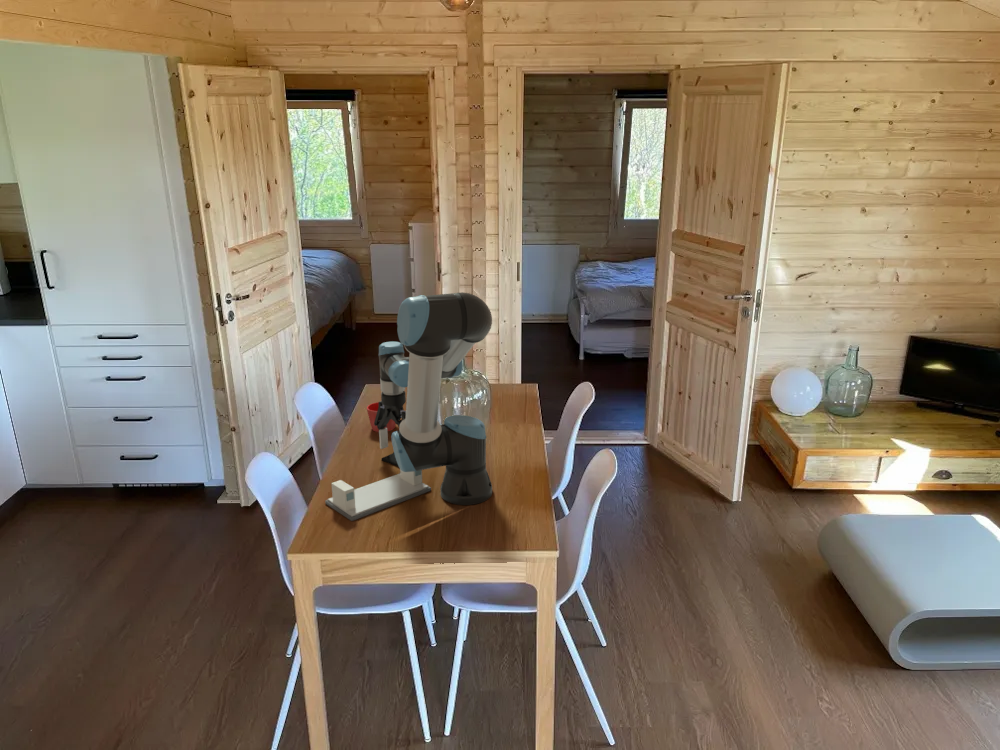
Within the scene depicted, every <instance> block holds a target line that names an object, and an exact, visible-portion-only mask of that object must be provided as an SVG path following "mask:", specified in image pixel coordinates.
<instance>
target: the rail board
mask: <svg viewBox="0 0 1000 750" xmlns="http://www.w3.org/2000/svg"><path fill="white" fill-rule="evenodd" d="M431 491H432V487H430V486H429V485H428V484H426V483H424V482H423V470H419V471H413V472H403V471H402V470H401V469H400V468H399V473H398V474H395V475H394V474H393V475H392V476H389V477H386V478H383V479H380V480H378V481H375V482H372V483H369V484H366V485H363V486H361V487H358V488H355V487H353V486H352V485H351V484H348V483H346V482H345V481H344V480H342V479H339V480H337V481H334V482H331V493H332V494H331V495H332V497H329V498H327V499H325V501H324V502H325V503H324V504H326V506H328V507H330V508H331V509H332V510H334V511H336V512H337V513H339V514H340V515H342V516H343V517H345V518H346V519H348V520H349V521H351V522H353V521H357V520H358V519H361V518H364V517H366V516H369V515H372V514H374V513H376V512H379V511H382V510H384V509H388V508H389V507H392V506H395V505H397V504H400V503H402V502H405V501H408V500H411V499H413V498H415V497H418V496H421V495H424V494H426V493H428V492H431Z"/></svg>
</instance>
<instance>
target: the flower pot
mask: <svg viewBox="0 0 1000 750" xmlns="http://www.w3.org/2000/svg"><path fill="white" fill-rule="evenodd" d="M379 402H380V401H377V402H372V403H370V404H369V405H367V407H366V412H367V415H368V416H367V417H368V420H369V423H370V427H371V429H372V431H373V432H375V433H379V429H378V428H377V425H376V426H375V425H374V421H375V418H376V414H377V411H378V403H379ZM396 425H397V424H396V423H395V421H393V420H392V419H390V420H389V422H388V424H387V427H384V428H387V431H388V432H391V431H393V430H394V429H396Z"/></svg>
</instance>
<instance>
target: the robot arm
mask: <svg viewBox="0 0 1000 750" xmlns="http://www.w3.org/2000/svg"><path fill="white" fill-rule="evenodd" d="M397 312H398V313H397V318H396V325H397V329H396V331H397V336H398V340H399V341H386V342H385V341H384V342H382V343H381V344H379V346H378V360H379V377H380V378H379V381H380V392H381V393H380V396H381V397H380V401H378V402H379V403H378V411H377V414H376V418H375V421H374V425H375V426H376V425H377V428H378V429H379V432H378V437H379V448H380V450H382V449H386V448H388V447H389V438H388V437H389V434H388V432H389V431H387V428H384V427H387V424H388V422H389V420H390V419H392V420H393V421H395V423H396V425H397V426H398V430H396V431H393V432H391V445H392V450H393V452H394V454H395V458H396V461H397V464H398V466H399V467H398V466H397V467H398V468H399V470H400V469H401V470H402V471H403V472H413V471H419V470H422V471H425V470H429V469H434V468H440V467H445V472H444V475H443V478H442V482H441V485H440V497H441V499H443V500H444V501H445V502H447V503H449V504H453V505H457V506H459V505H460V506H468V505H469V506H470V505H471V506H472V505H478V504H481V503H483V502H485V501H487V500H489V499H490V498H491V497H492V494H493V484H492V482H491V478H490V476H489V473H488V470H487V454H486V453H487V433H486V425H485V423H484V422H483V421H482V420H480V419H479V418H477V417H474V416H470V415H452V416H449V417H446V418H445V420H444V419H443V420H444V424H443V423H442V424H441V423H440V422H439V421H438V418H439V417H438V415H439V406H440V405H439V402H440V394H441V385H442V384H441V383H442V379H450V378H454V377H458V376H460V375H461V374H462V372H463V371H462V370H463V359H464V358H465V357H466V356H467V354H468V353H469V352H470V351H471V349H472V348H473V347H474V345H475V344H477V343H479V342H482V341H483V340H484V339H485V338H486V337H487V335H488V334H489V333H490V331H491V329H492V324H493V316H492V312H491V309H490V307H489V306H488V305H487V303H486V302H485V301H484V300H483V299H482V298H480V297H479V296H478V295H476V294H472V293H470V292H469V293H468V292H453V293H442V294H431V295H430V294H429V295H424V294H419V295H417V296H410V297H407V298H405V299H404V300H402V302H401V304H400V305H399V308H398V311H397ZM404 349H405V350H406V351H407V352H408V353H409V356H405V350H404ZM406 388H407V389H406ZM404 405H405V410H404Z"/></svg>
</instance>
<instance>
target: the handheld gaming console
mask: <svg viewBox="0 0 1000 750" xmlns="http://www.w3.org/2000/svg"><path fill="white" fill-rule="evenodd" d="M381 461H383V462H385V463H387V464H390V465H392V466H395V467H398V468H399V466H398V464H397V461H396V458H395V454H394V451H393V452H392V453H390V454H388V455H386V456H383V457H381Z"/></svg>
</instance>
